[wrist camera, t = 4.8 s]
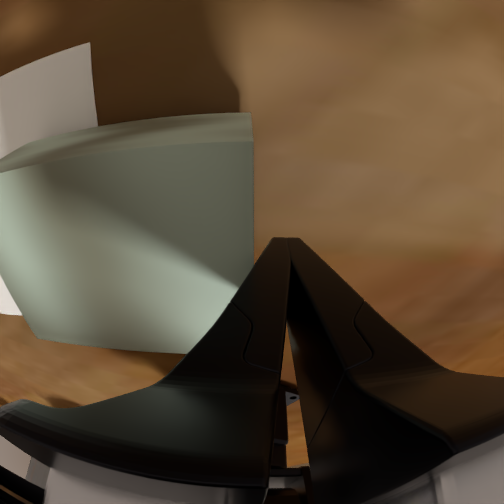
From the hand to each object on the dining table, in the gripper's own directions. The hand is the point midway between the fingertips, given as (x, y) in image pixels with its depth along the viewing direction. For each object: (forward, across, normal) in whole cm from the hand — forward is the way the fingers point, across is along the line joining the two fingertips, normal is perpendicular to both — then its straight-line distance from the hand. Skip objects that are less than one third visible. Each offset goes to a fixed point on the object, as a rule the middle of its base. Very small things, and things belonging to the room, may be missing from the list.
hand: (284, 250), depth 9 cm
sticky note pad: (+3, +6, 0) cm, 6 cm away
